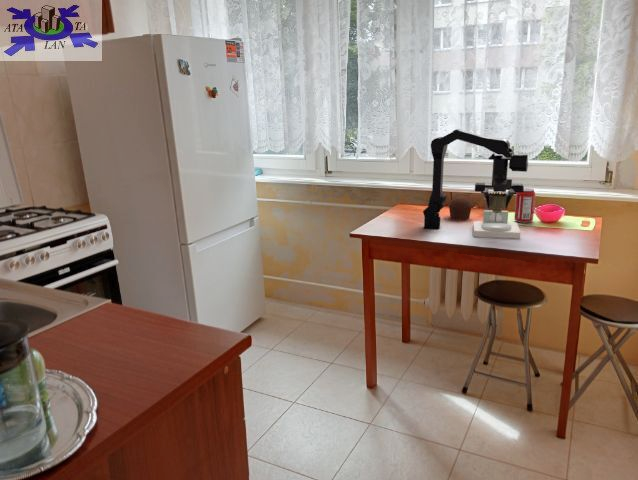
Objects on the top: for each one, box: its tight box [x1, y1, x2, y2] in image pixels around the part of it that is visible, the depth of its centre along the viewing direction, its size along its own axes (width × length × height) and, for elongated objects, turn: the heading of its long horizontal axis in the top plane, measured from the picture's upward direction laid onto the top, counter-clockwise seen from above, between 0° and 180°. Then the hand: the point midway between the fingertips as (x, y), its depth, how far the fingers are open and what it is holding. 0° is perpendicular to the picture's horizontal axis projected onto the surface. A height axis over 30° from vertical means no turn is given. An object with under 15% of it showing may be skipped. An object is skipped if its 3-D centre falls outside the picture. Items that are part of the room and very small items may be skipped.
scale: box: [472, 209, 521, 239], centre depth 207 cm, size 18×16×8 cm
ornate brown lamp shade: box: [489, 191, 508, 213], centre depth 203 cm, size 8×7×8 cm
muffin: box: [447, 196, 474, 221], centre depth 232 cm, size 12×11×10 cm
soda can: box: [514, 187, 536, 224], centre depth 220 cm, size 8×8×15 cm
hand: (497, 207), depth 203 cm, fingers closed on ornate brown lamp shade, 6 cm apart
